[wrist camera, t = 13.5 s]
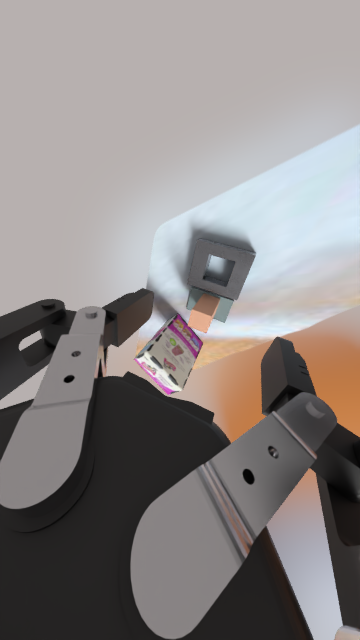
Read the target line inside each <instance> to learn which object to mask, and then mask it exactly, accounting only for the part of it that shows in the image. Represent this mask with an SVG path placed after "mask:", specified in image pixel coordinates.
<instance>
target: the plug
mask: <svg viewBox="0 0 360 640" xmlns="http://www.w3.org/2000/svg"><path fill="white" fill-rule="evenodd" d="M219 301H220V298H217V297H214V296H211V295H208V294H205V293H204V294H203V295H202V296H201V298H200V299H199V300H198V302H197V303H196V304H195V306H194V307H193V308H192V311H191V315H190V319H189V322H188V326H189V327H191V328H194V329H197V330H199V331H202V332H204V333H207V330H208V328H209V326H210V324H211V322H212V320H213V317H214V315H215V313H216V310H217V307H218V304H219Z"/></svg>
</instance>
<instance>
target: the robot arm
mask: <svg viewBox="0 0 360 640" xmlns="http://www.w3.org/2000/svg"><path fill="white" fill-rule="evenodd" d="M153 299H154V293H153V292H152V291H149V290H146V289H144V288H142V289H140V290H138V291H137V292H135V293H129V294H126V295H124V296H122V297H121V298H118V299H117V300H115V301H113V302H111V303H109V304H108V305H106V306H104V307H102V308H100V307H94V306H92V307H91V306H90V307H85V308H82V309H80V310H78V311H77V312H76V311H70V310H66V309H65V305H64V302H62V301H60V300H56V299H46V300H41V301H38V302H36V303H33V304H31V305H28V306H26V307H23V308H21V309H18V310H16V311H13V312H11V313H8V314H6V315H3V316H1V317H0V400H1V399H2V398H4V397H5V396H6V395H7V394H9V393H10V392H12V391H13V390H14V389H16V388H17V387H18V386H19V385H21V384H22V383H24V382H25V381H26V380H28V379H29V378H30V377H32V376H33V375H35V374H36V373H37V372H38V371H40V370H41V369H43V368H44V367H45V366H47V365H48V364H49V365H48V368H47V371H46V373H45V375H44V377H43V380H42V382H41V385H40V387H39V389H38V392H37V394H36V397H35V399H31V400H28V401H25V402H22V403H19V404H16V405H13V406H10V407H7V408H4V409H0V640H314V639H313V637H312V634H311V632H310V629H309V627H308V624H307V622H306V620H305V617H304V615H303V612H302V610H301V608H300V605H299V603H298V600H297V598H296V596H295V593H294V591H293V589H292V586H291V584H290V581H289V579H288V577H287V574H286V572H285V569H284V567H283V565H282V562H281V560H280V557H279V555H278V553H277V550H276V548H275V545H274V543H273V541H272V538H271V536H270V533H269V531H268V529H267V526H266V524H267V523H268V522H269V520H270V519H271V518H272V516H273V515H274V514H275V512H276V511H277V510H278V509H279V507H280V506H281V505H282V503H283V502H284V501H285V499H286V498H287V497H288V495H289V494H290V493H291V491H292V490H293V489H294V487H295V486H296V485H297V484H298V482H299V481H300V480H301V478H302V477H303V476H304V474H305V473H306V471H307V470H308V469H309V468H311V469H312V470H313V471H314V472H315V473H316V477H317V483H318V488H319V493H320V499H321V505H322V511H323V516H324V521H325V527H326V533H327V539H328V544H329V550H330V555H331V561H332V566H333V572H334V578H335V583H336V589H337V594H338V600H339V605H340V611H341V617H342V622H343V626H342V627H340V628H339V629H338V631H337V633H336V635H335V639H334V640H360V438H359V437H358V436H356V435H355V434H353V433H352V432H350V431H349V430H347V429H346V428H344V427H343V426H341V425H340V424H338V423H337V418H336V416H335V414H334V412H333V411H332V409H331V408H330V407H329V406H328V405H327V404H326V403H325V402H324V401H323V400H321V399H320V398H318V397H317V396H316V392H315V389H314V386H313V383H312V380H311V378H310V376H309V372H308V370H307V366H306V363H305V361H304V360H303V358H302V357H301V356H300V354H298V353H296V352H295V350H294V346H293V343H292V342H291V341H288V340H286V339H283V338H280V337H276V338H275V339H274V341H273V343H272V344H271V346H270V347H269V349H268V350H267V352H266V353H265V355H264V357H263V359H262V362H261V384H262V386H261V387H262V414H264V415H266V416H267V417H265V418H264V419H263V420H261V421H260V422H259V423H258V424H256V425H255V426H254V427H252V428H251V429H250V430H248V431H247V432H246V433H245V434H243V435H242V436H241V437H239V438H238V439H237V440H235V441H234V442H233V443H231V442H230V441H229V439H228V438H227V436H226V435H225V434H224V432H223V431H222V430H221V429H220V428H219V427H218V426H217V425H216V424H215V423H214V422H213V417H214V413H213V412H211V411H209V410H207V409H205V408H203V407H201V406H199V405H197V404H195V403H193V402H189V401H185V400H180V399H176V398H171V397H167V396H165V395H164V394H162V393H161V392H160V391H159V390H158V389H157V388H155V387H154V386H153V385H152V384H151V383H150V382H148V381H147V380H145V379H143V378H141V377H139V376H137V375H135V374H133V373H130V372H129V371H128V372H127V373H126V374H125V375H124V376H123V377H118V376H108V377H106V370H107V358H108V346H109V345H111V344H112V345H114V346H117V347H119V346H120V345H121V344H122V343H123V342H125V341H126V340H127V339H128V338H129V337H130V336H131V335H132V334H133V333H134V332H136V331H137V330H138V329H139V328H140V327H141V326H142V325H143V324H144V323H146V322H147V321H148V320H149V318H150V317H151V314H152V308H153ZM39 330H40V333H41V336H42V339H40V340H38V341H37V342H35V343H33V344H32V345H30V346H28V347H27V348H25V349H23V350H21V351H20V350H19V344H20V342H21V341H22V339H24V338H26V337H28V336H30V335H31V334H33V333H35V332H37V331H39Z"/></svg>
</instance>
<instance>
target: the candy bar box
mask: <svg viewBox="0 0 360 640" xmlns="http://www.w3.org/2000/svg"><path fill="white" fill-rule="evenodd" d="M202 345H203V343H202V341H201V340H200V339H199V338H198V337H197V336H196V334H195V333H194V332H193V331H192V330H191V329H190V327H189V326H188V325H187V324H186V323H185V321H184V320H183V319H182V318H181V317H180V315H179V314H177V315H175V316H174V317H172V318H171V319H170V320H168V321H167V322H166V323H165V324H164V325H163V326H162V327H161V329H160V330H159V331H158V332H157V333H156V334H155V335H154V337H153V338H152V339H151V340H150V341H149V342H148V343H147V345H146V346H145V347H144V348H143V349H142V350H141V351H140V353H139V354H138V355H137V356H136V357H135V358H134V360H135V361H136V362H137V363H138V364H139V365H140V366H141V367H142V368H143V369H144V370H145V371H146V372H147V373H148V374H149V375H150V377H151V378H152V379H153V380H154V381H155V382H156V383H157V384H158V385H159V386H160V387H161V388H162V389H163V390H164V391H165V392H166V393H167V394H168V395H169V394H172V393H175V392H179V391H182V390H183V388H184V385H185V384H186V381H187V379H188V377H189V374H190V372H191V370H192V367H193V365H194V363H195V361H196V358H197V356H198V354H199V352H200V349H201V347H202Z"/></svg>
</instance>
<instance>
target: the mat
mask: <svg viewBox="0 0 360 640" xmlns="http://www.w3.org/2000/svg"><path fill="white" fill-rule="evenodd" d="M204 293H205V294H208V295H211V296H214V297H217V298H220V301H219V304H218V307H217V310H216V313H215V315H214V317H213V319H216V320H218V321H221V322H224V323H225V321H226V318H227V316H228V313H229V311H230V309H231V306H232V304H233V301H234V300H231V299H228V298H225V297H222V296H219V295H216V294H213V293H210V292H207V291H204V290H201V289H198V288H195V287H192V289H191V293H190V297H189V301H188V305H187V309H188V310H191V311H192V308H193V307H194V306H195V304H196V303H197V302H198V300H199V299H200V298H201V296H202V295H203V294H204Z"/></svg>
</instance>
